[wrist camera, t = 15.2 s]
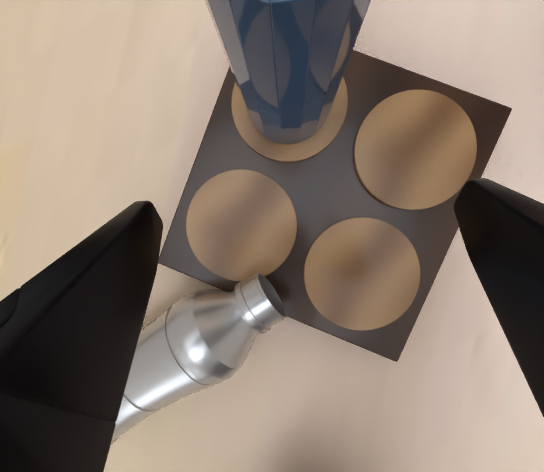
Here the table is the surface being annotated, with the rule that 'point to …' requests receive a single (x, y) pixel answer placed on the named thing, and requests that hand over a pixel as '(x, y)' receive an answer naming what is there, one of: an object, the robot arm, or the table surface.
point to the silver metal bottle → (196, 346)
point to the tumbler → (288, 58)
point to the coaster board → (338, 201)
